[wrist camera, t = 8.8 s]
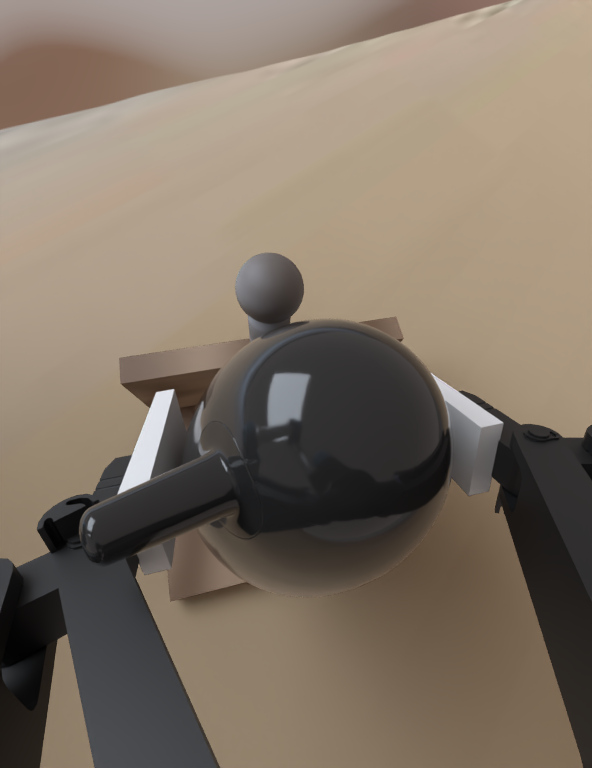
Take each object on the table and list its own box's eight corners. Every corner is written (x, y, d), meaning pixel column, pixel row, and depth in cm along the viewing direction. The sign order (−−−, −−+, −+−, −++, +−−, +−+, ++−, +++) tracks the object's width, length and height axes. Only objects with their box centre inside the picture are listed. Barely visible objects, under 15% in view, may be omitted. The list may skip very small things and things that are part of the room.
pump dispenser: (177, 436, 20) (-33, 273, 6) (326, 370, 23) (429, 141, 8) (244, 610, 18) (150, 1072, 3) (406, 515, 20) (766, 542, 6)
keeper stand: (175, 596, 20) (16, 759, 7) (157, 388, 25) (37, 260, 12) (415, 534, 23) (616, 575, 10) (361, 355, 27) (451, 217, 14)
